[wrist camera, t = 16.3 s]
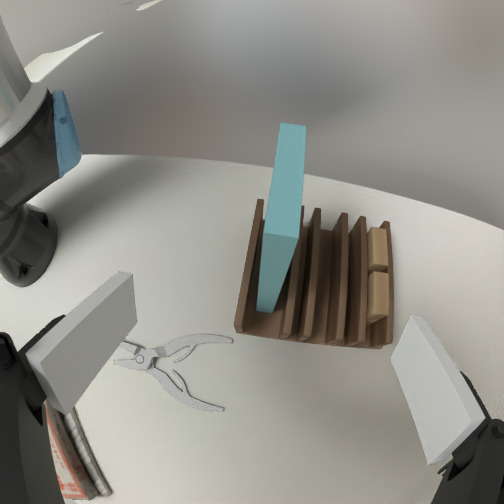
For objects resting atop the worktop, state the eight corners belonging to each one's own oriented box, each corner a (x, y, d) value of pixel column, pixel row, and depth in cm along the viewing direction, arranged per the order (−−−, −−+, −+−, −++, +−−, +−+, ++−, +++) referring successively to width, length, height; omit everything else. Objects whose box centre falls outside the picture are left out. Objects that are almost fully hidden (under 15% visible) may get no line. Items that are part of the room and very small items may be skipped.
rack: (236, 332, 33) (233, 324, 28) (256, 222, 40) (257, 198, 34) (379, 348, 32) (400, 343, 27) (380, 243, 39) (396, 223, 33)
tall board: (256, 311, 34) (263, 232, 15) (267, 239, 38) (280, 122, 20) (272, 313, 33) (298, 237, 15) (281, 242, 38) (306, 126, 19)
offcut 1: (356, 280, 35) (373, 263, 30) (356, 247, 37) (372, 226, 32) (369, 282, 35) (388, 265, 30) (369, 249, 37) (385, 229, 32)
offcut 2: (354, 323, 33) (373, 313, 27) (356, 287, 35) (373, 271, 29) (367, 324, 33) (388, 314, 27) (369, 288, 35) (388, 273, 29)
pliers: (221, 414, 28) (109, 387, 28) (223, 412, 29) (114, 386, 30) (232, 336, 32) (121, 316, 33) (232, 338, 33) (126, 319, 34)
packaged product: (100, 504, 18) (54, 501, 16) (115, 493, 23) (70, 493, 21) (48, 384, 25) (10, 393, 23) (68, 385, 29) (30, 394, 28)
